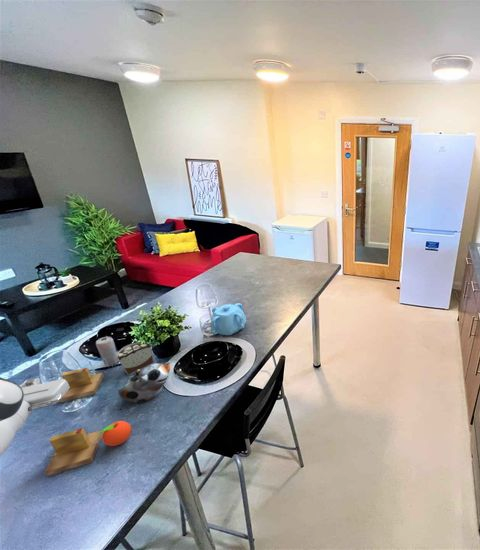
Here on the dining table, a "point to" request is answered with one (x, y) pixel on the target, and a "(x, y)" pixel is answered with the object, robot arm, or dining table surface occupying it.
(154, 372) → the lucky cat figurine
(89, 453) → the wooden board
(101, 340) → the pillar candle
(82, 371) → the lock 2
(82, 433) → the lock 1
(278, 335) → the dining table surface
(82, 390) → the plate
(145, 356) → the food container
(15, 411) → the robot arm
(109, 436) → the clementine
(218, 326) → the decorative pot
